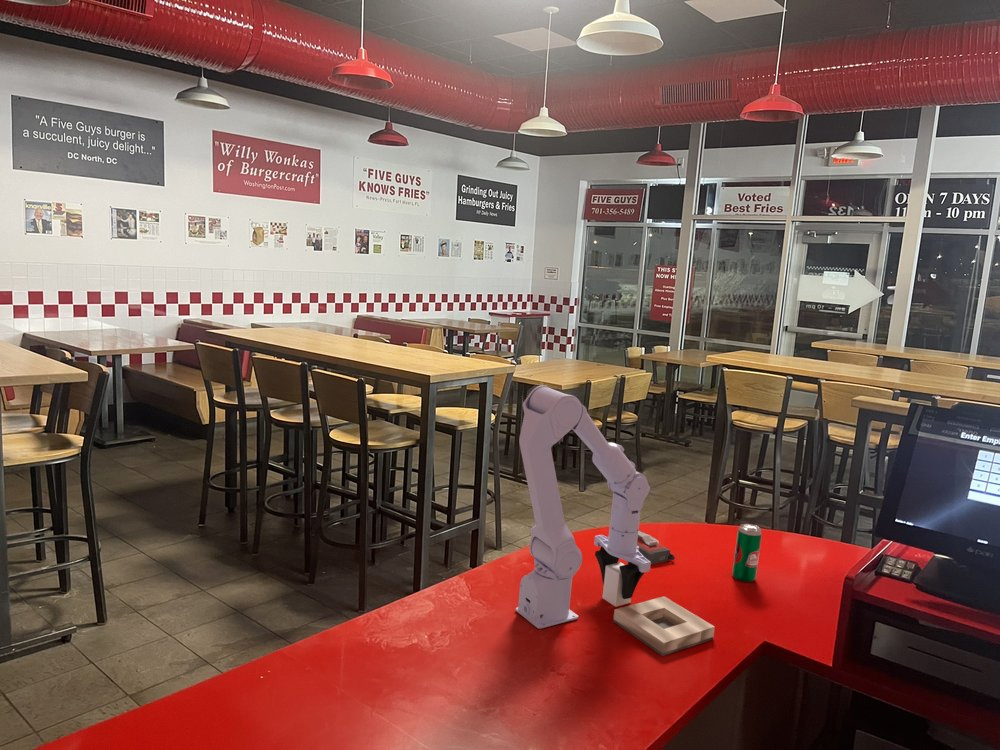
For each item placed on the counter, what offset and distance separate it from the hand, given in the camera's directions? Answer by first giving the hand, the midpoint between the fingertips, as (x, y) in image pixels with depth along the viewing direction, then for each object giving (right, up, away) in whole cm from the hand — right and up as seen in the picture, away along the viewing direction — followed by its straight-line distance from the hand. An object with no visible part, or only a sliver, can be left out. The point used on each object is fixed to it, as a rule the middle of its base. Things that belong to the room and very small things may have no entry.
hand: (617, 591), depth 146 cm
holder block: (+7, -4, -10) cm, 13 cm away
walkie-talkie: (+10, +2, +29) cm, 30 cm away
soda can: (+31, -2, +15) cm, 34 cm away
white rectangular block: (0, -2, 0) cm, 2 cm away
